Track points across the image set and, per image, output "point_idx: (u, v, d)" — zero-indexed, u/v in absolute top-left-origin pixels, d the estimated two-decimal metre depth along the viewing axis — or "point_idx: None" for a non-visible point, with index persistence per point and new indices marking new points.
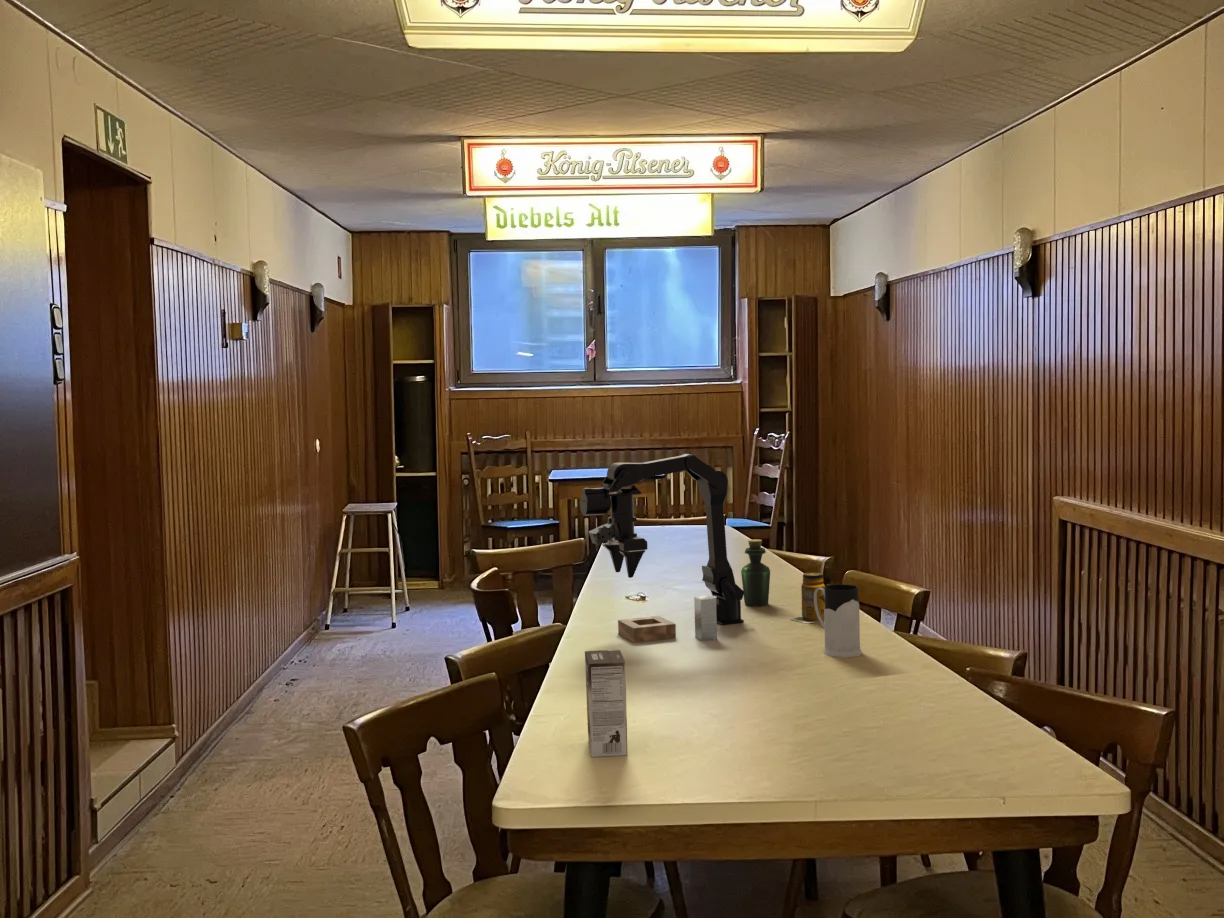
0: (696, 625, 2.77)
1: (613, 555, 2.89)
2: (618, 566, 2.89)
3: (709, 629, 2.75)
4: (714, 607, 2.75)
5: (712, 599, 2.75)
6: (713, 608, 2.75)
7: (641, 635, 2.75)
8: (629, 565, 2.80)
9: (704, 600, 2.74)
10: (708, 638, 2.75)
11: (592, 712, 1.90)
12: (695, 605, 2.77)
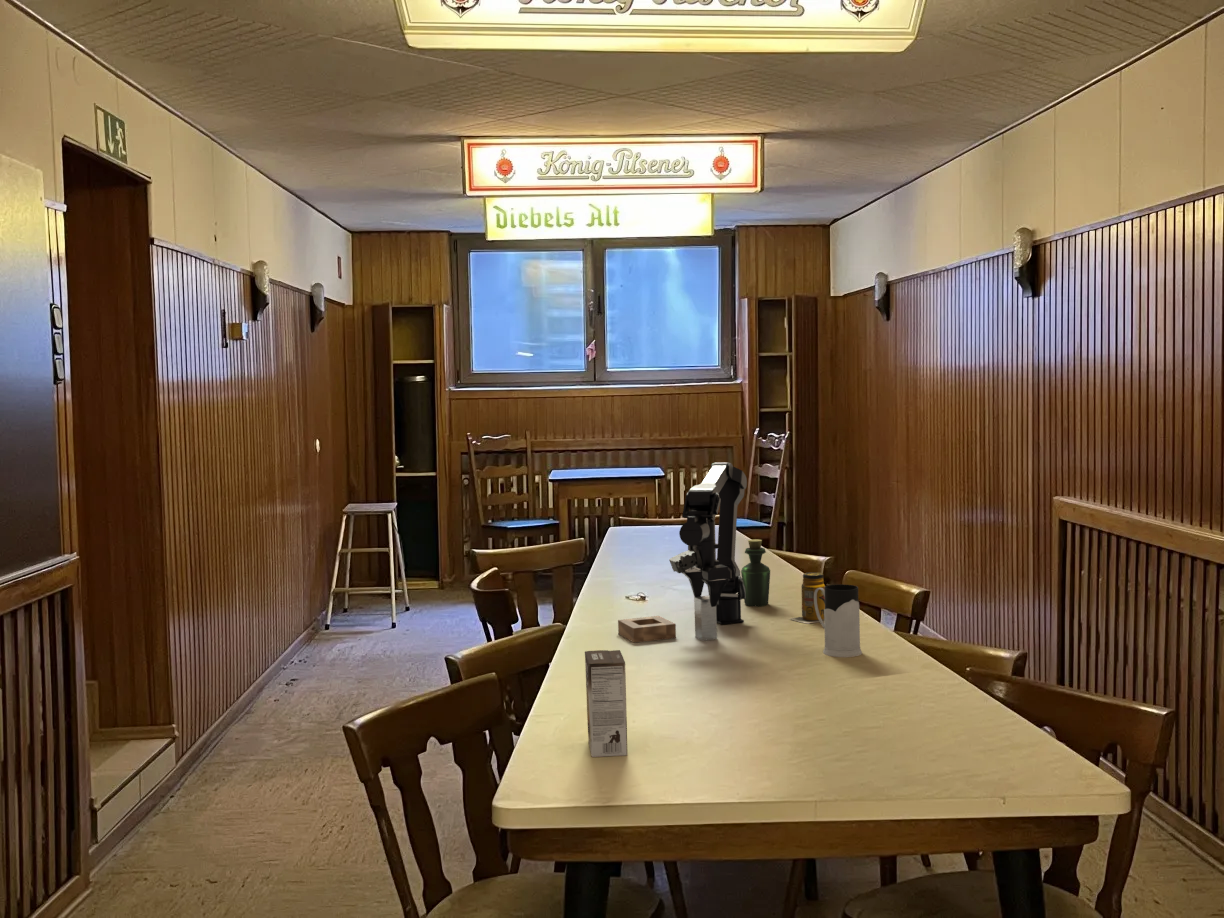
0: (696, 625, 2.77)
1: (693, 583, 2.81)
2: (697, 594, 2.81)
3: (709, 629, 2.75)
4: (714, 607, 2.75)
5: None
6: (713, 608, 2.75)
7: (641, 635, 2.75)
8: (712, 594, 2.71)
9: (704, 600, 2.74)
10: (708, 638, 2.75)
11: (592, 712, 1.90)
12: (695, 605, 2.77)
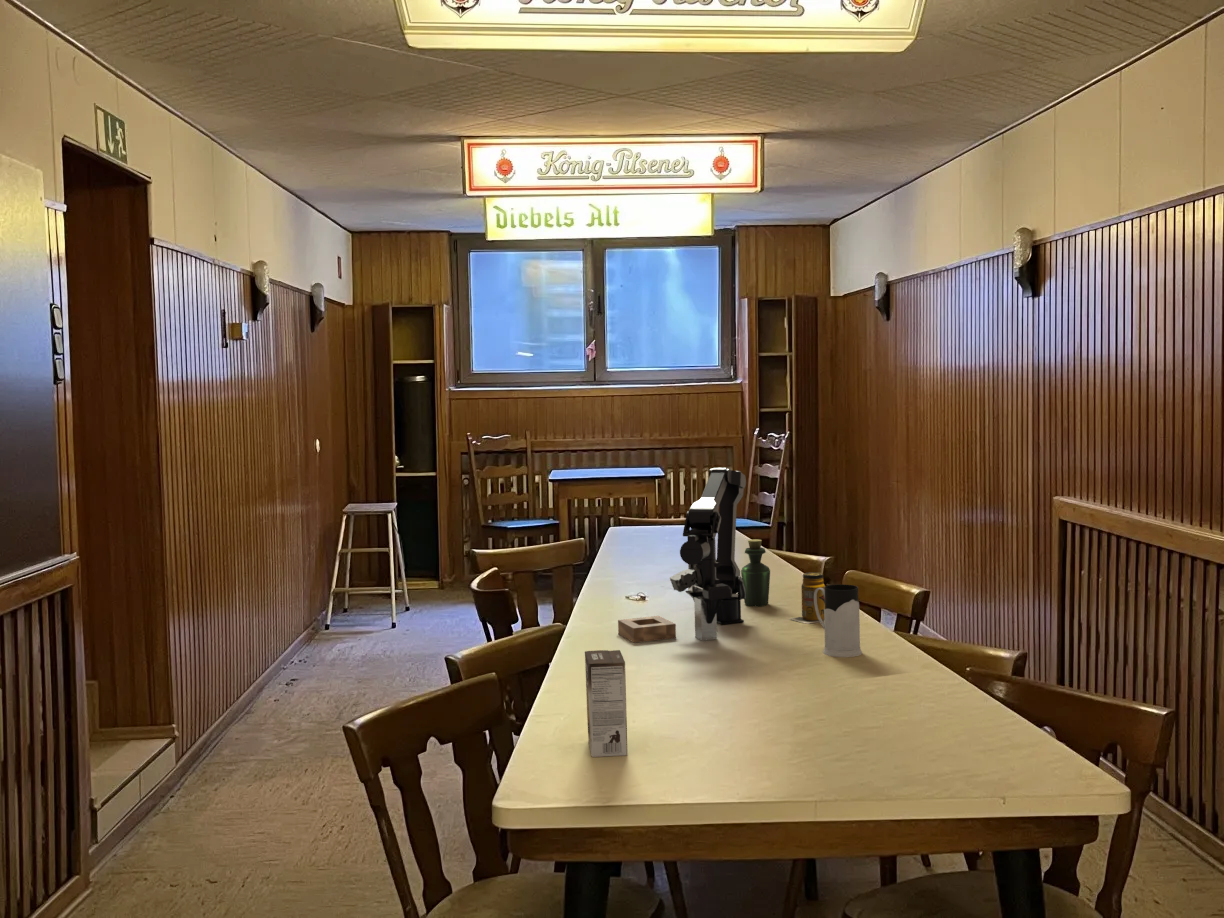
0: (696, 625, 2.77)
1: None
2: None
3: (709, 629, 2.75)
4: None
5: None
6: None
7: (641, 635, 2.75)
8: (708, 611, 2.74)
9: None
10: (708, 638, 2.75)
11: (592, 712, 1.90)
12: (695, 605, 2.77)
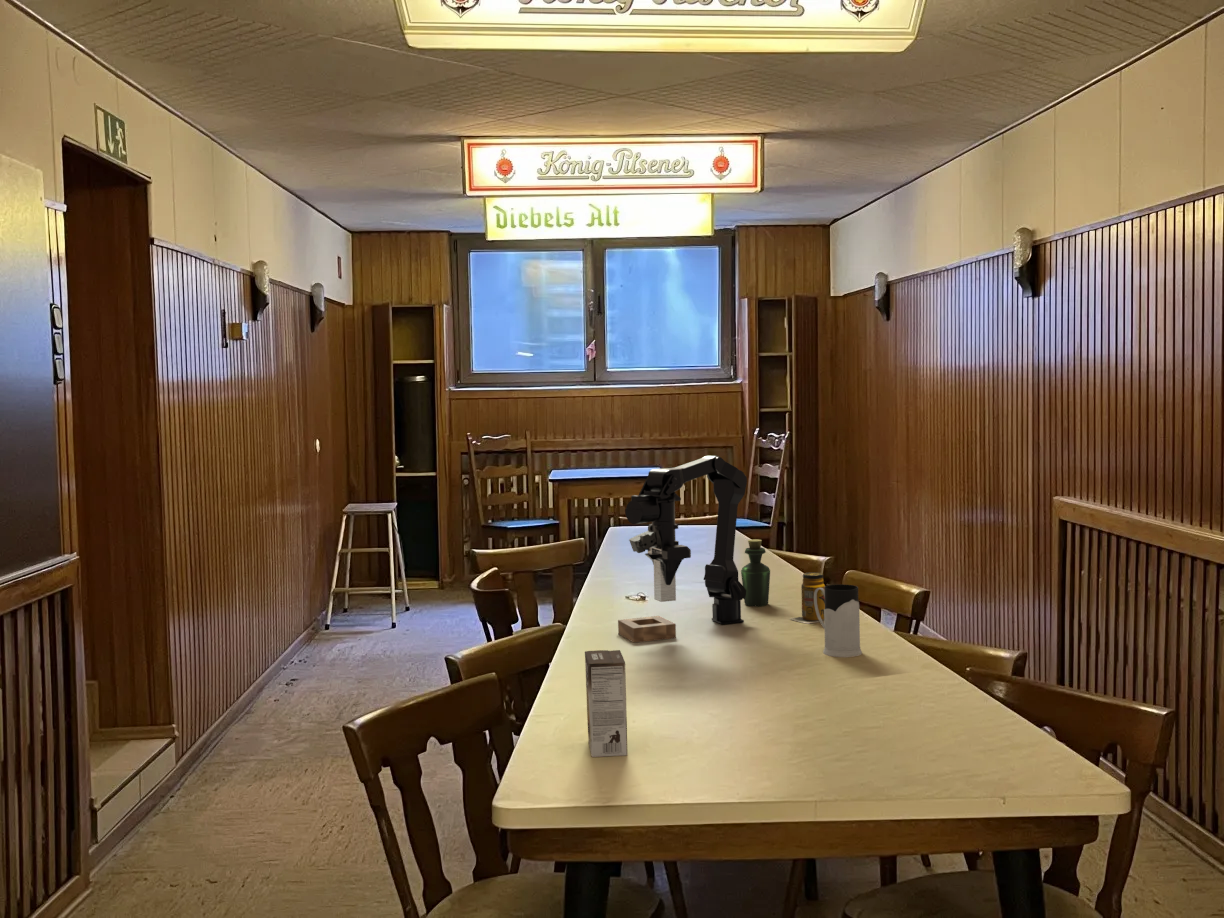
0: (655, 587, 2.79)
1: None
2: None
3: (668, 590, 2.77)
4: None
5: None
6: None
7: (641, 635, 2.75)
8: (667, 573, 2.76)
9: None
10: (667, 599, 2.77)
11: (592, 712, 1.90)
12: (654, 567, 2.79)
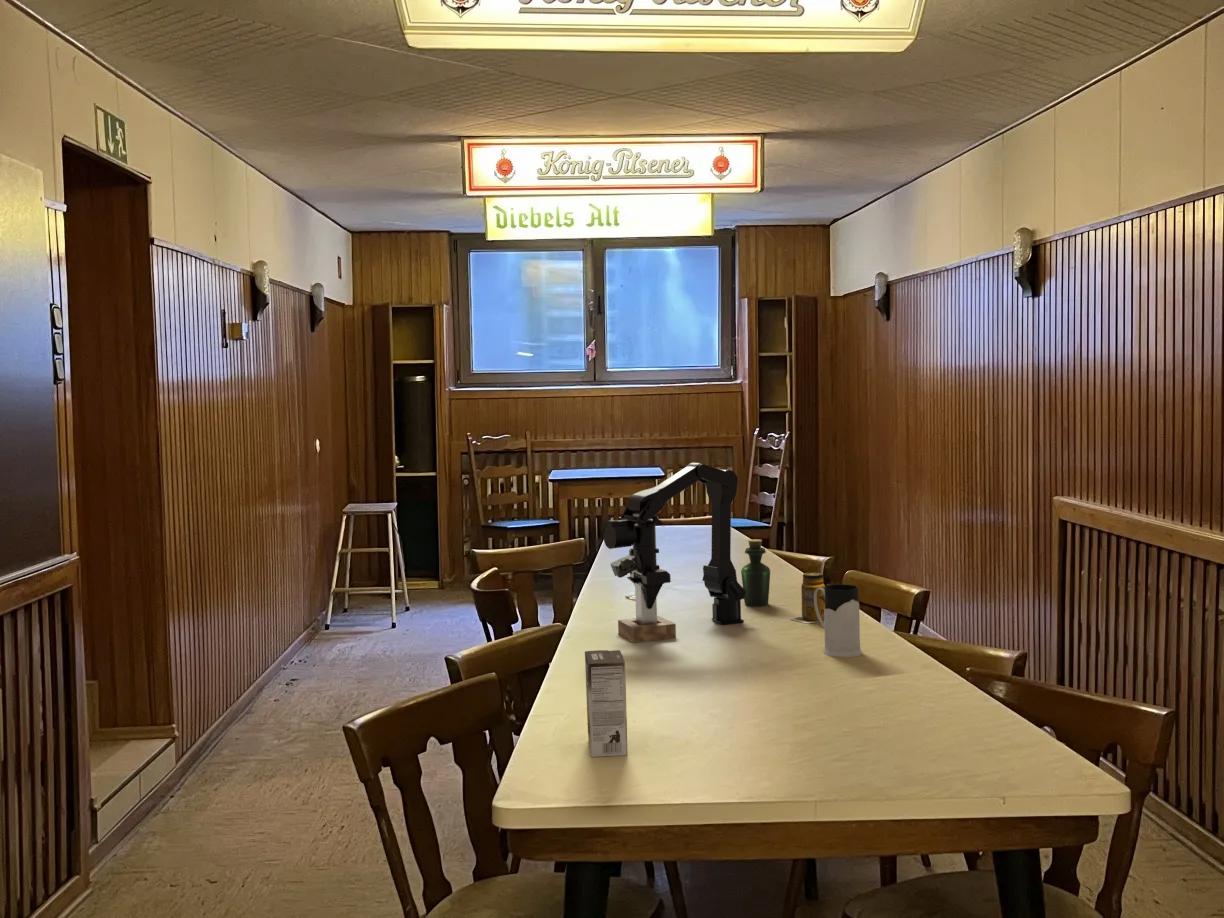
0: (637, 610, 2.82)
1: None
2: None
3: (649, 614, 2.79)
4: None
5: None
6: None
7: (641, 635, 2.75)
8: (648, 597, 2.78)
9: None
10: (648, 623, 2.79)
11: (592, 712, 1.90)
12: (636, 591, 2.82)
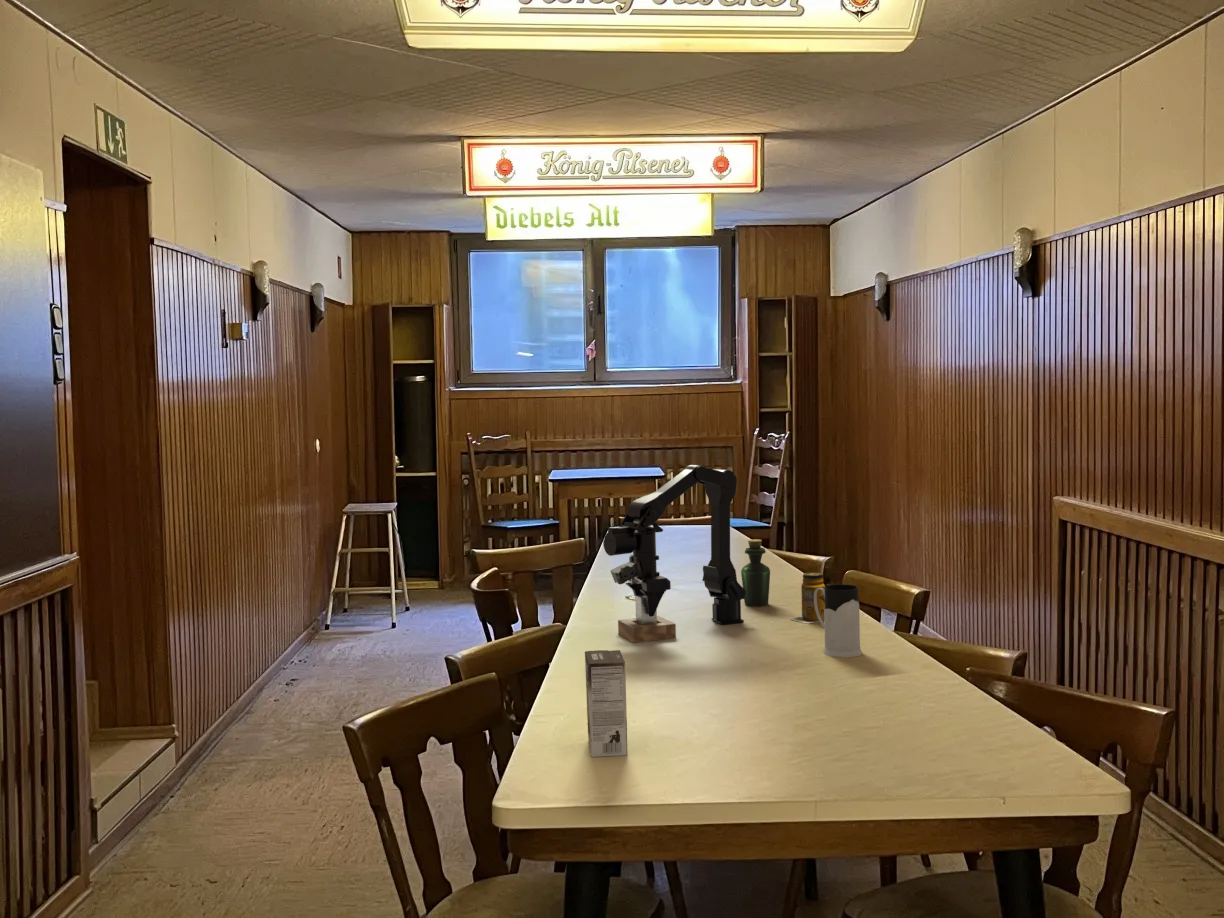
0: (637, 623, 2.82)
1: (637, 594, 2.84)
2: None
3: None
4: None
5: None
6: None
7: (641, 635, 2.75)
8: (650, 604, 2.77)
9: (644, 598, 2.79)
10: None
11: (592, 712, 1.90)
12: (636, 603, 2.82)
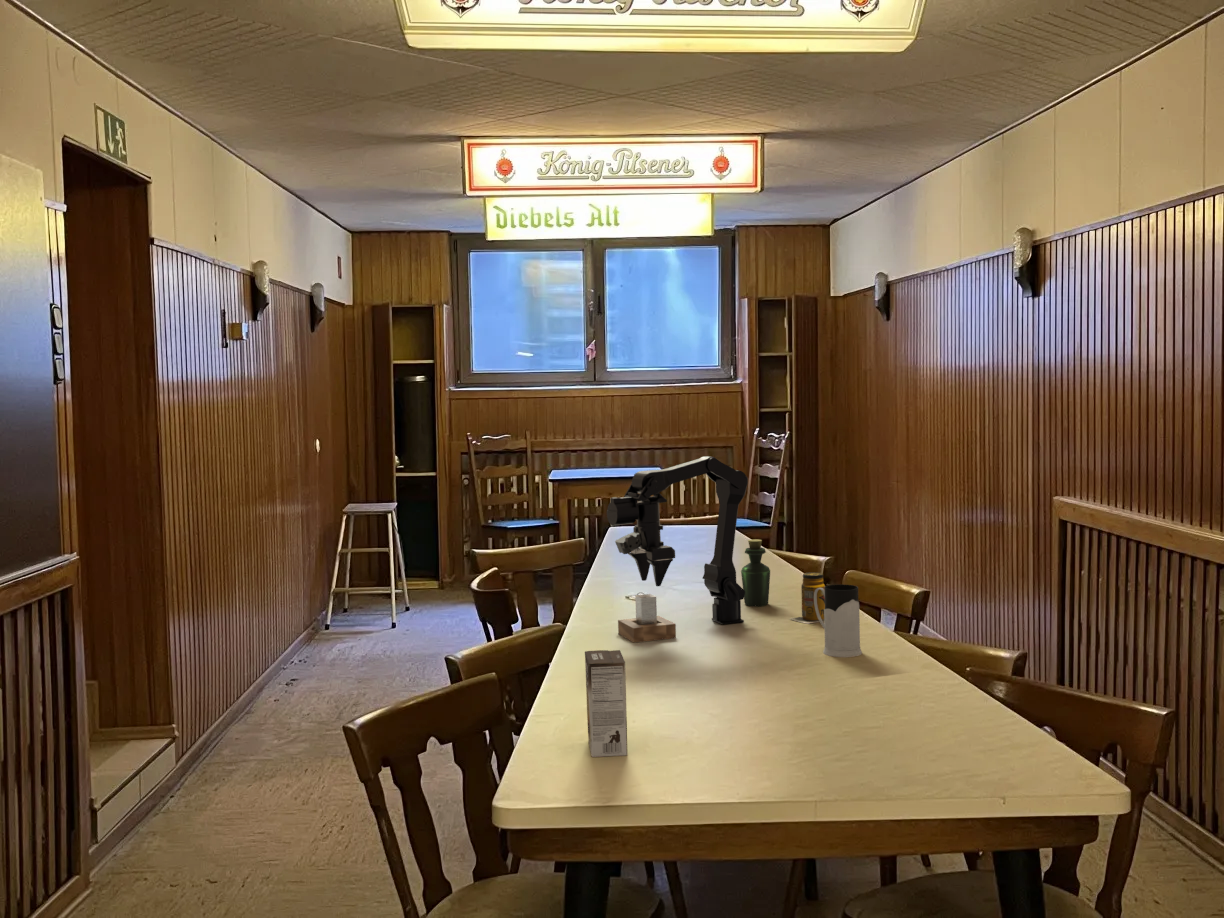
0: (637, 623, 2.82)
1: (639, 563, 2.88)
2: (644, 575, 2.89)
3: None
4: (654, 605, 2.80)
5: (652, 597, 2.79)
6: (653, 606, 2.80)
7: (641, 635, 2.75)
8: (656, 574, 2.79)
9: (644, 598, 2.79)
10: None
11: (592, 712, 1.90)
12: (636, 603, 2.82)
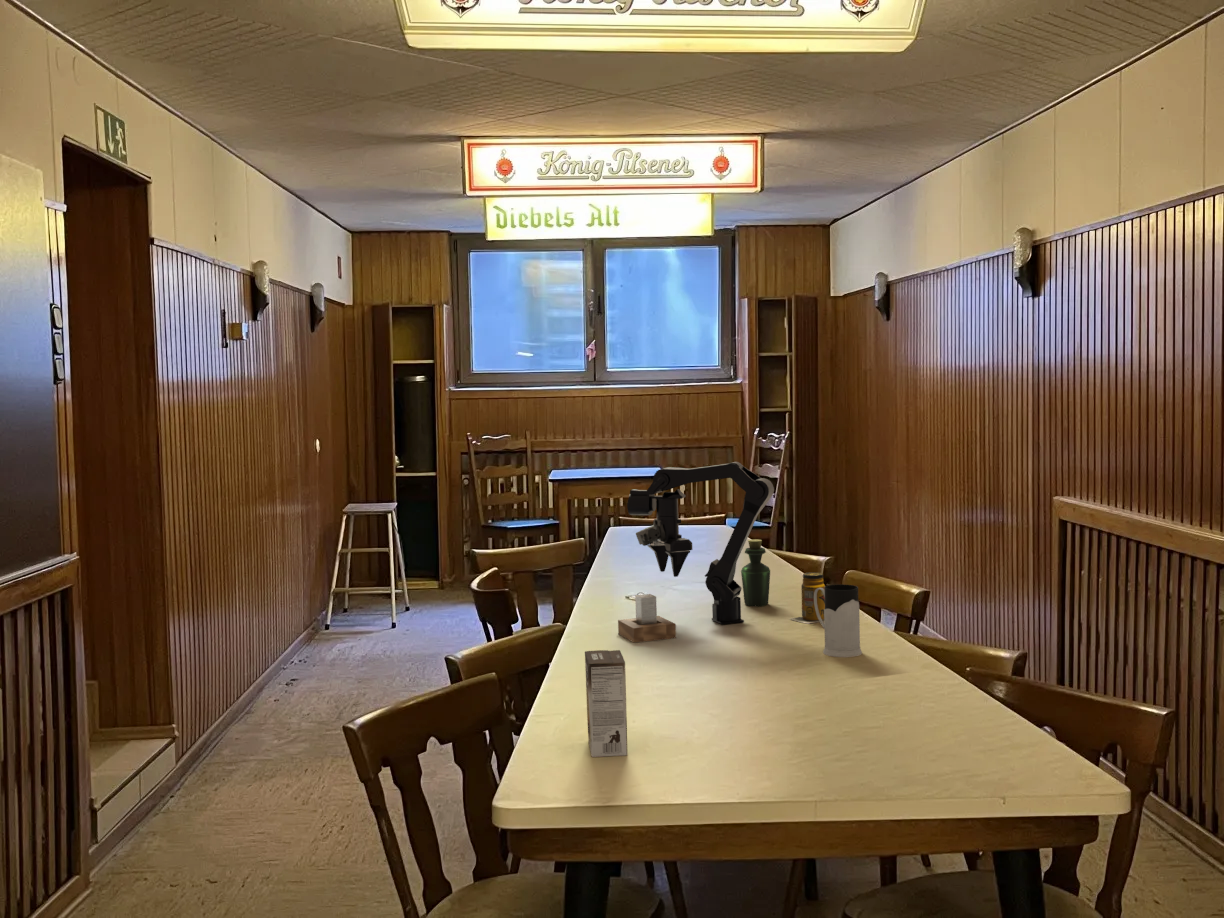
0: (637, 623, 2.82)
1: (658, 555, 3.04)
2: (662, 566, 3.04)
3: None
4: (654, 605, 2.80)
5: (652, 597, 2.79)
6: (653, 606, 2.80)
7: (641, 635, 2.75)
8: (674, 565, 2.95)
9: (644, 598, 2.79)
10: None
11: (592, 712, 1.90)
12: (636, 603, 2.82)
